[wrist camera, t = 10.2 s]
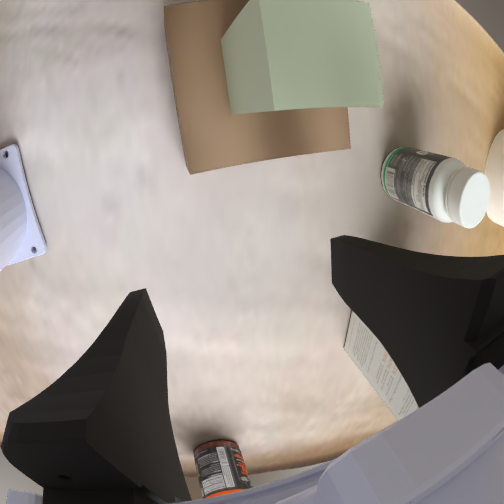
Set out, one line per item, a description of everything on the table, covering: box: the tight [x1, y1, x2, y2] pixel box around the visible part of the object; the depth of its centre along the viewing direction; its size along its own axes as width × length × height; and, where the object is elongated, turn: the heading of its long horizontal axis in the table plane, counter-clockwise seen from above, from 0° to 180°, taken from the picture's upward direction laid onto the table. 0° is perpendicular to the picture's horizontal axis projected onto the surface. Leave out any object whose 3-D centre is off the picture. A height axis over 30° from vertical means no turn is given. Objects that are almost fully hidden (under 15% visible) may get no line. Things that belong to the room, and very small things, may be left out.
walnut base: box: [164, 0, 351, 175], centre depth 16 cm, size 10×10×3 cm
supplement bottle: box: [194, 440, 253, 499], centre depth 27 cm, size 6×6×11 cm
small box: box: [344, 311, 419, 421], centre depth 23 cm, size 8×6×13 cm
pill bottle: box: [381, 147, 490, 228], centre depth 19 cm, size 5×5×8 cm
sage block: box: [221, 0, 384, 115], centre depth 11 cm, size 4×4×7 cm
